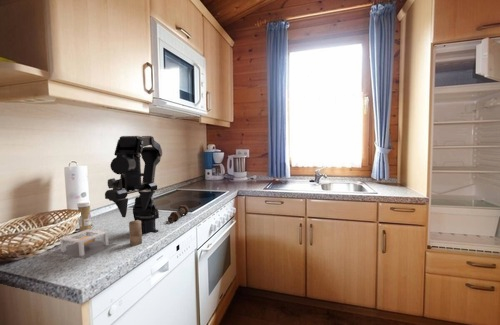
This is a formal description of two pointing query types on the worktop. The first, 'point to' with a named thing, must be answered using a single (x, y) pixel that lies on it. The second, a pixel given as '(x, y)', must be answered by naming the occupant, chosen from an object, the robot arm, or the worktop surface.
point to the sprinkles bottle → (84, 215)
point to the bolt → (178, 213)
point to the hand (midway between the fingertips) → (134, 213)
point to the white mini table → (81, 249)
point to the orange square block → (86, 241)
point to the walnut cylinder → (135, 232)
